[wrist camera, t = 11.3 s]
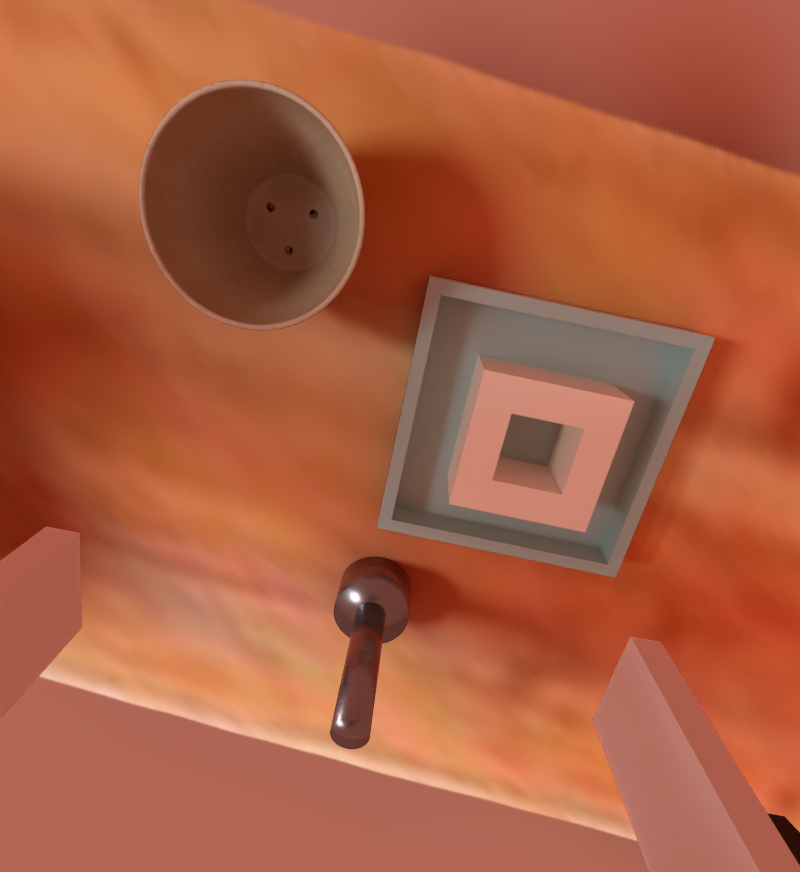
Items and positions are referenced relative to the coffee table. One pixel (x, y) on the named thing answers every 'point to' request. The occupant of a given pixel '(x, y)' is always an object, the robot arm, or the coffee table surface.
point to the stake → (366, 640)
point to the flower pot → (251, 204)
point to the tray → (528, 437)
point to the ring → (571, 456)
